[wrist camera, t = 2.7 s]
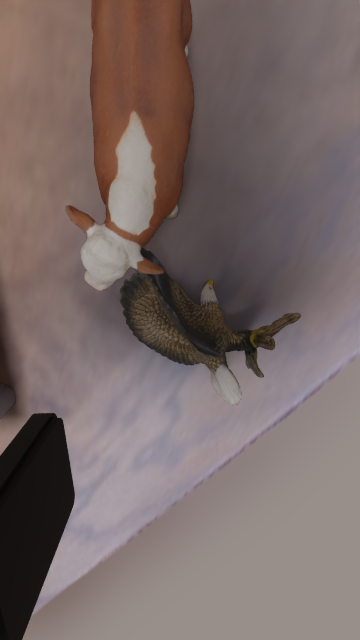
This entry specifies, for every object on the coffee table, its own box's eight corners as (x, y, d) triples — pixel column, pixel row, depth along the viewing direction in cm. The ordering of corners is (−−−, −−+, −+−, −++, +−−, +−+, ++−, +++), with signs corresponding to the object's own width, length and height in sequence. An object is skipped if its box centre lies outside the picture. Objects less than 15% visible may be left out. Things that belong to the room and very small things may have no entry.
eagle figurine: (291, 261, 19) (143, 207, 17) (314, 369, 15) (120, 316, 13) (228, 330, 25) (112, 296, 23) (232, 422, 21) (89, 392, 18)
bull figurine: (103, 267, 21) (51, 299, 13) (123, 2, 17) (66, -185, 9) (172, 277, 21) (162, 315, 13) (209, 17, 17) (227, -155, 9)
